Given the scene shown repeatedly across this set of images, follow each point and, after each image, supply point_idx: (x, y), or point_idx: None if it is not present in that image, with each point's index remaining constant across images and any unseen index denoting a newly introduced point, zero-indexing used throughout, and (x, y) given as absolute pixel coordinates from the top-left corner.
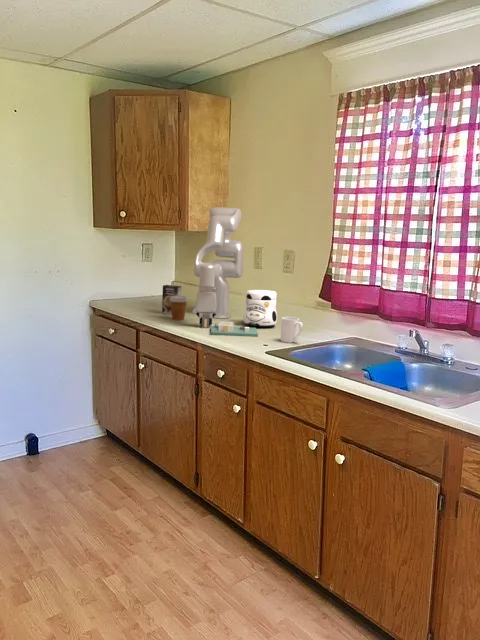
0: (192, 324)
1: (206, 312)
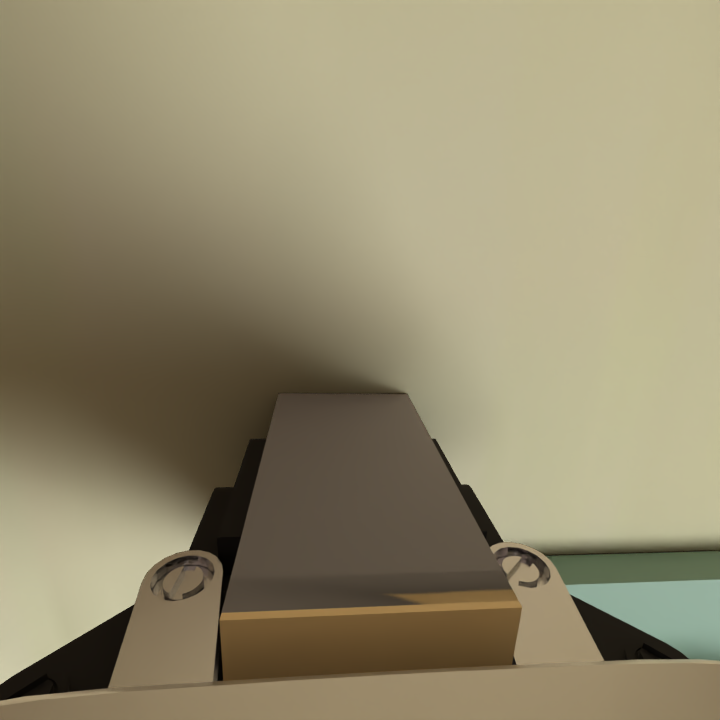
0: (59, 245)
1: (391, 636)
